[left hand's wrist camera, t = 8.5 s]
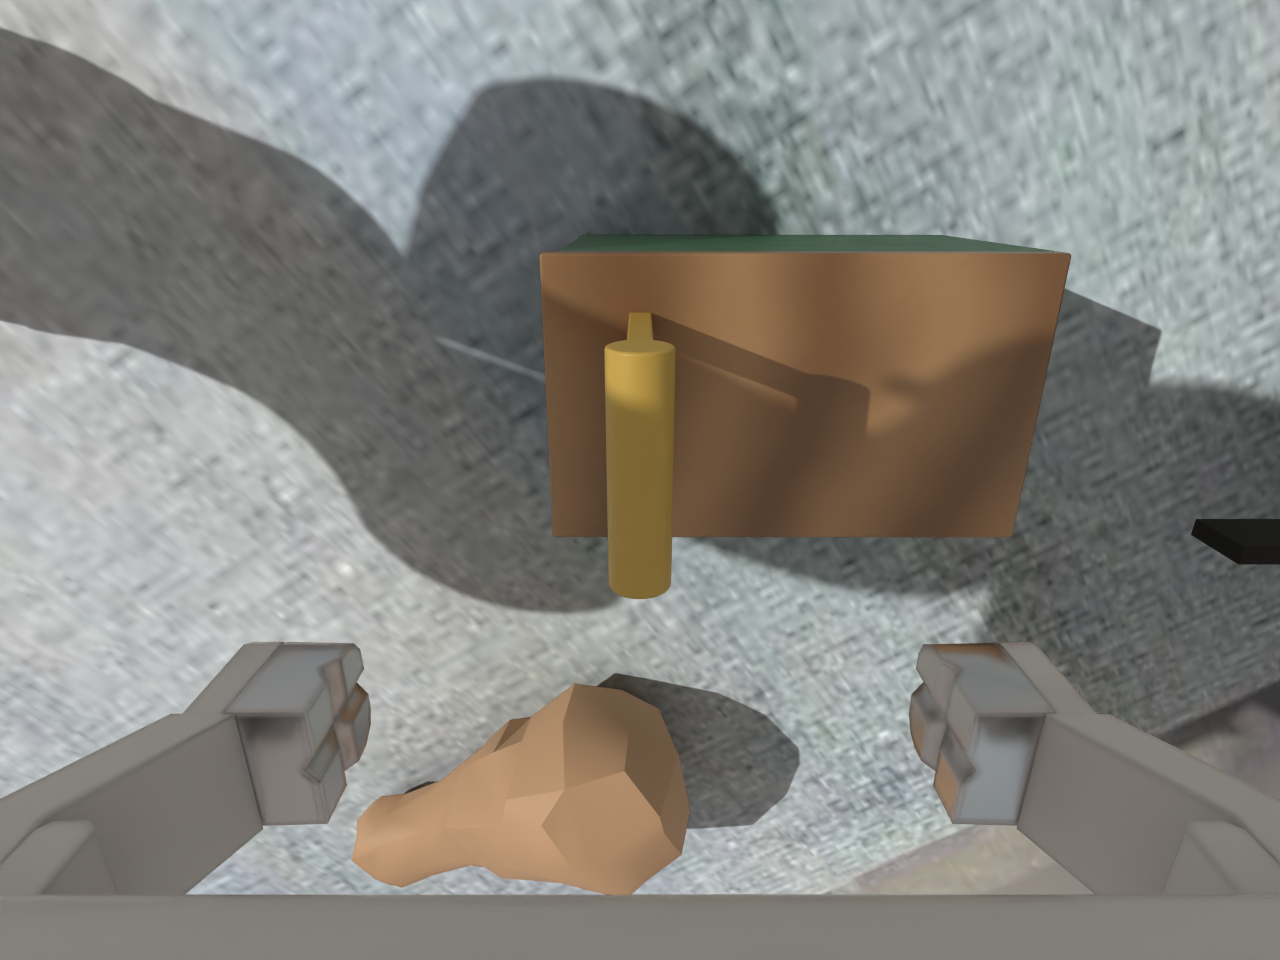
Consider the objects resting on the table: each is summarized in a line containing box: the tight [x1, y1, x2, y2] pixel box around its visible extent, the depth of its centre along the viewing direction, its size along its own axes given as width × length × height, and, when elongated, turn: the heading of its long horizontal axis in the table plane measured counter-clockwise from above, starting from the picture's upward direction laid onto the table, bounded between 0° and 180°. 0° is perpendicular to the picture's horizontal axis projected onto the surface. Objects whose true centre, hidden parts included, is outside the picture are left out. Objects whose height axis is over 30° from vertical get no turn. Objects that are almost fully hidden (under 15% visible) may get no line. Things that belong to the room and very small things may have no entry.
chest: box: [562, 235, 1050, 251], centre depth 30 cm, size 16×10×10 cm, turn 90°
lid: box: [539, 251, 1071, 599], centre depth 21 cm, size 17×10×8 cm, turn 90°
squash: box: [352, 684, 691, 895], centre depth 40 cm, size 11×20×9 cm, turn 119°
